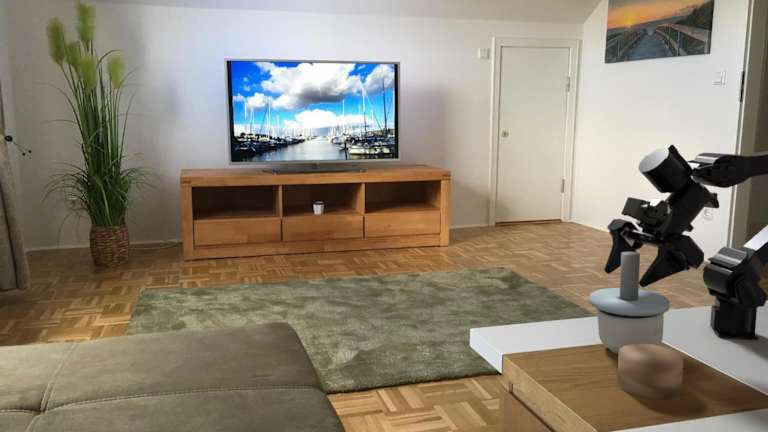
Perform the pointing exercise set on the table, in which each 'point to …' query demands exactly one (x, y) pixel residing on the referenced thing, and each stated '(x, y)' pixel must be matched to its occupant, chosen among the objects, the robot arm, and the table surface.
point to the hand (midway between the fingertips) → (622, 278)
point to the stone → (650, 371)
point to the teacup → (629, 330)
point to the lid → (629, 293)
